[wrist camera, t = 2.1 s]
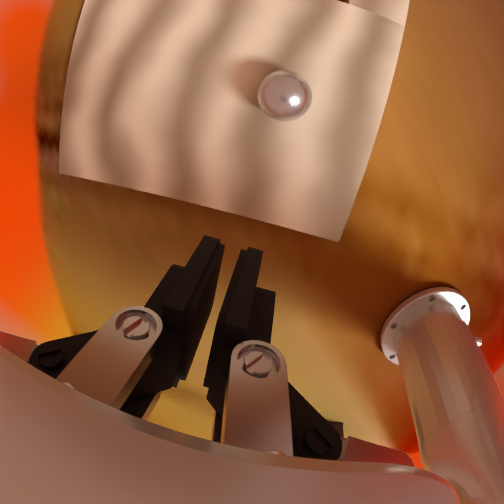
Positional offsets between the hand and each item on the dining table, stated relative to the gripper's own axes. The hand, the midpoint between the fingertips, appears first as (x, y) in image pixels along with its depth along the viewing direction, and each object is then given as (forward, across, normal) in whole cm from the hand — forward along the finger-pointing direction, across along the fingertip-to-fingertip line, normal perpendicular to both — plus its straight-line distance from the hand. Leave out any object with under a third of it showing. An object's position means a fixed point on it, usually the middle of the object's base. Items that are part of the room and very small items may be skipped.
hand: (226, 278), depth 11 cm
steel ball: (+14, 0, -7) cm, 15 cm away
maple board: (+17, +7, -12) cm, 22 cm away
